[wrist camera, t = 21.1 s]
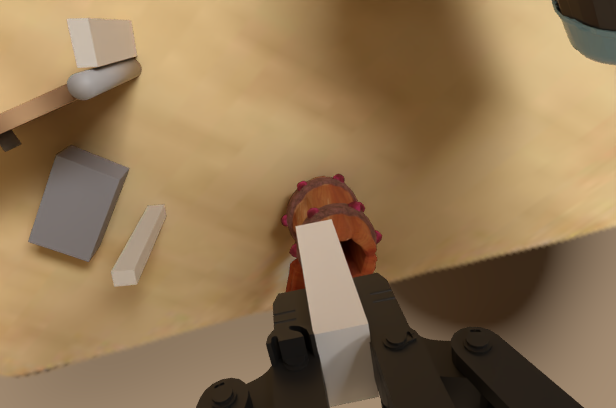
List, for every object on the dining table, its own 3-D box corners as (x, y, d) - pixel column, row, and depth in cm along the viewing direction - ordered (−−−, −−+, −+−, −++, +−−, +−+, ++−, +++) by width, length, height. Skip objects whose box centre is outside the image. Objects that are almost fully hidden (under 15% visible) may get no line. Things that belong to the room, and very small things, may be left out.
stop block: (71, 144, 45) (56, 154, 41) (130, 167, 46) (119, 179, 43) (45, 225, 48) (28, 241, 44) (100, 244, 49) (88, 261, 46)
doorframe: (113, 20, 41) (51, 18, 28) (133, 20, 41) (80, 17, 28) (149, 217, 48) (114, 286, 36) (166, 215, 49) (136, 284, 36)
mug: (303, 152, 48) (326, 204, 34) (367, 179, 50) (413, 238, 36) (253, 261, 52) (255, 346, 38) (314, 281, 54) (336, 369, 41)
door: (112, 69, 42) (64, 84, 31) (127, 94, 43) (85, 118, 32) (1, 119, 42) (-85, 151, 31) (19, 142, 43) (-60, 182, 32)
